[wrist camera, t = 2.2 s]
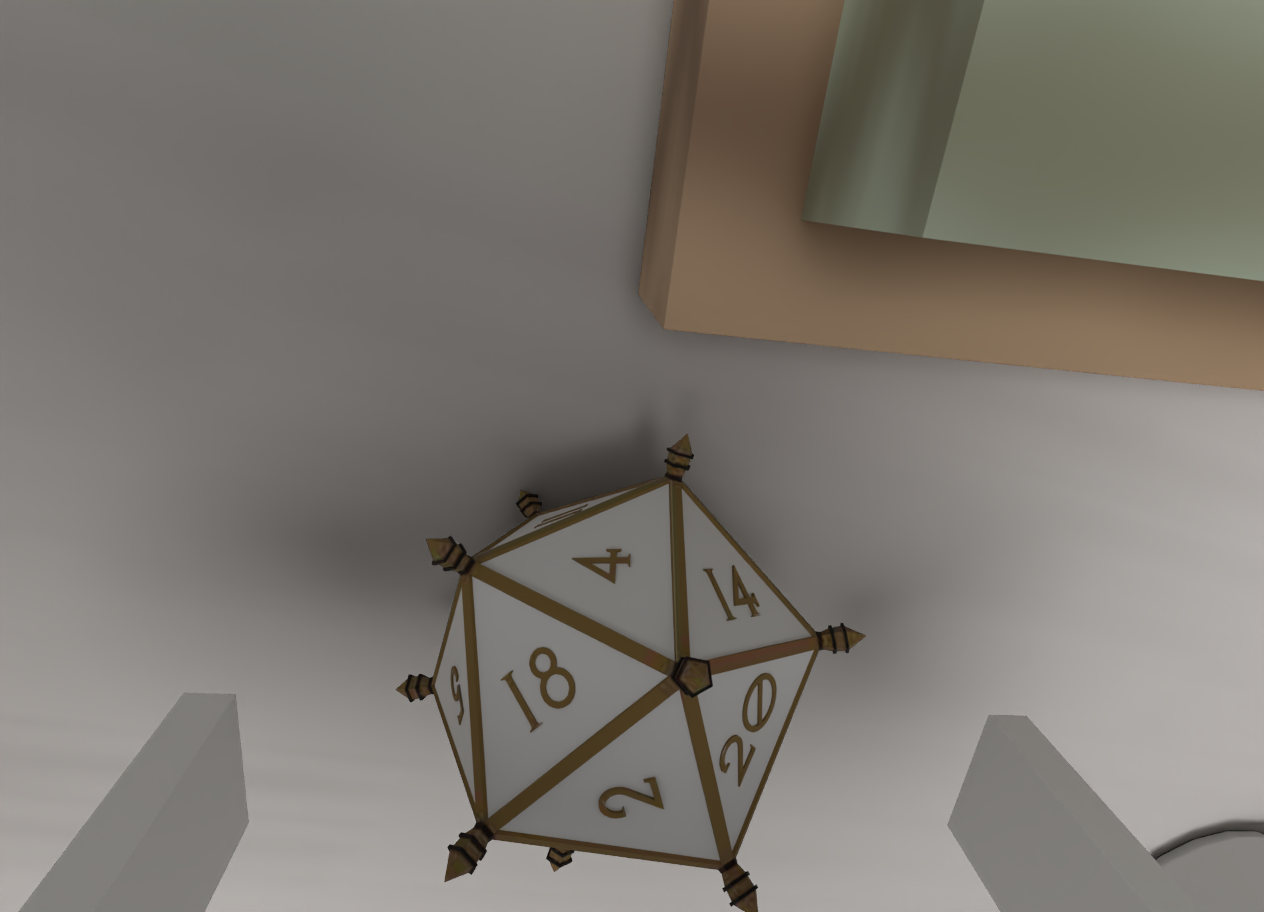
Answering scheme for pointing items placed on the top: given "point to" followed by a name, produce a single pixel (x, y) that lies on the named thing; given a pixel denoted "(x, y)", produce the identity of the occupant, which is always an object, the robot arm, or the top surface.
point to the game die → (618, 680)
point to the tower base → (864, 277)
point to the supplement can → (1220, 871)
